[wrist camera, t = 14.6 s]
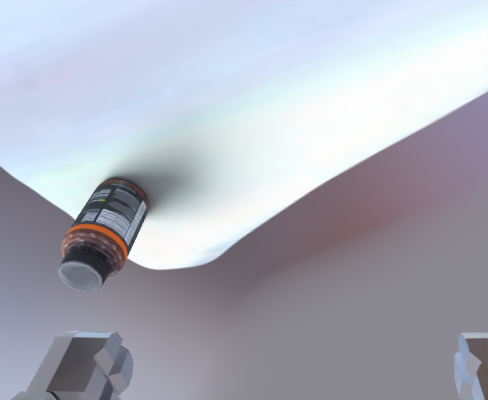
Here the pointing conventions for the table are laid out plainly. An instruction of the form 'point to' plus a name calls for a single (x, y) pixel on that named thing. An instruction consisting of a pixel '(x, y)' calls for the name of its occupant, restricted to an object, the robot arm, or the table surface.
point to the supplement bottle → (102, 235)
